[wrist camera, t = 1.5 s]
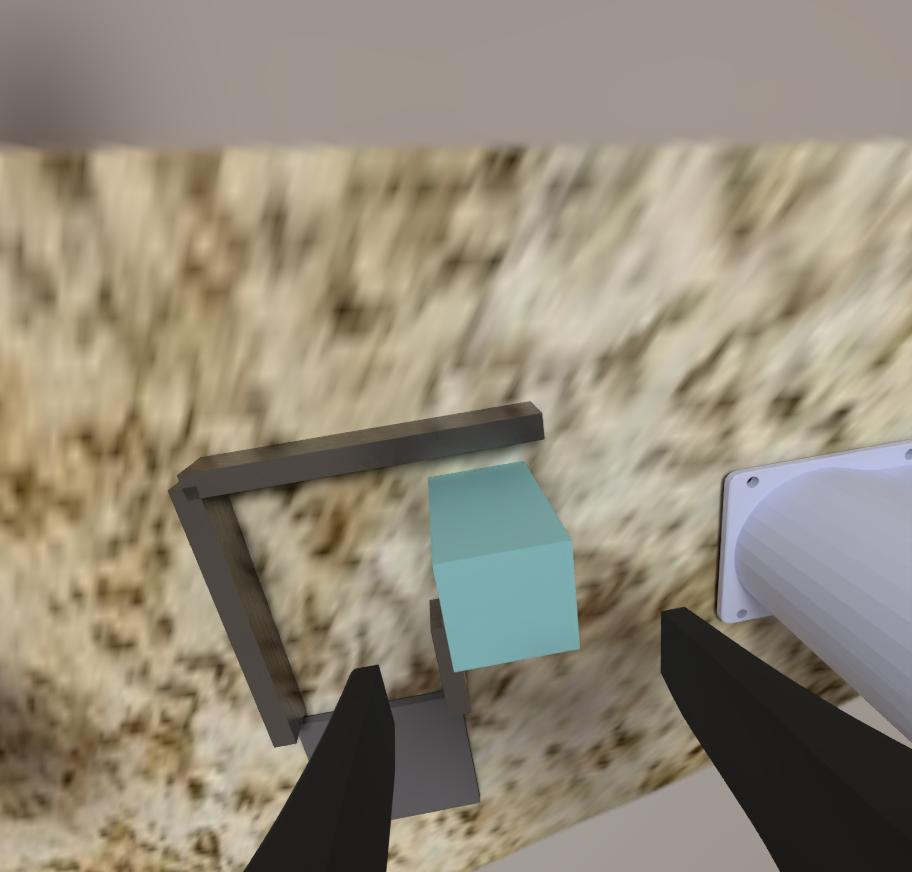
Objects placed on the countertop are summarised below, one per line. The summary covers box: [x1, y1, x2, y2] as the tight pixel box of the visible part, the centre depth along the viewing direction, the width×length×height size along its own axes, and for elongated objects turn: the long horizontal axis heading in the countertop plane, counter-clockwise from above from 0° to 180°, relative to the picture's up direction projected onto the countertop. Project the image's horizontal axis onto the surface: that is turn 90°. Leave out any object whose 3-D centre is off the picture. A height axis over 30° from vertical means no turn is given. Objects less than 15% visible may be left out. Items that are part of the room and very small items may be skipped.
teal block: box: [428, 461, 580, 672], centre depth 16 cm, size 4×4×6 cm
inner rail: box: [430, 599, 471, 717], centre depth 20 cm, size 6×6×2 cm
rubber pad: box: [299, 691, 480, 820], centre depth 23 cm, size 8×8×1 cm
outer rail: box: [168, 401, 544, 748], centre depth 18 cm, size 14×14×2 cm
